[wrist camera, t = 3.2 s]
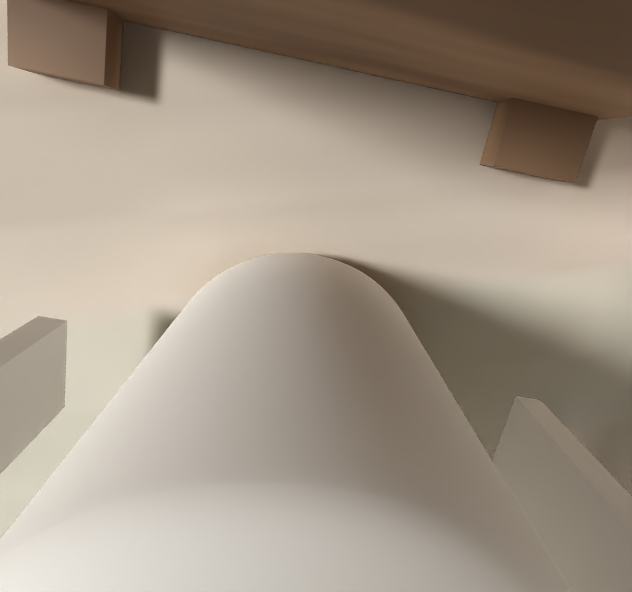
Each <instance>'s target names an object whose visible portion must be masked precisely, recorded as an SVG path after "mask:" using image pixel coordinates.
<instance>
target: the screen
mask: <svg viewBox="0 0 632 592" xmlns="http://www.w3.org/2000/svg"><path fill="white" fill-rule="evenodd" d="M7 14H8V65H9V66H13V67H16V68H19V69H23V70H26V71H30V72H34V73H39V74H44V75H48V76H53V77H58V78H63V79H68V80H73V81H77V82H82V83H87V84H92V85H97V86H102V87H107V88H111V89H116V90H119V84H120V66H121V48H122V31H123V20H124V21H128V22H133V23H138V24H142V25H147V26H151V27H156V28H161V29H165V30H170V31H174V32H179V33H184V34H188V35H193V36H197V37H202V38H206V39H211V40H216V41H220V42H225V43H229V44H234V45H239V46H243V47H248V48H252V49H257V50H262V51H266V52H271V53H275V54H280V55H284V56H289V57H294V58H298V59H303V60H307V61H312V62H317V63H321V64H326V65H330V66H335V67H340V68H344V69H349V70H353V71H358V72H363V73H367V74H372V75H376V76H381V77H385V78H390V79H395V80H399V81H404V82H408V83H413V84H418V85H422V86H427V87H431V88H436V89H441V90H445V91H450V92H454V93H459V94H463V95H468V96H473V97H477V98H482V99H486V100H491V101H496V102H498V105H497V108H496V111H495V115H494V118H493V122H492V125H491V129H490V132H489V136H488V139H487V142H486V146H485V149H484V153H483V156H482V160H481V163H480V165H485V166H490V167H495V168H499V169H504V170H509V171H514V172H519V173H524V174H529V175H533V176H538V177H543V178H548V179H553V180H559V181H568V182H575V180H576V177H577V174H578V172H579V169H580V166H581V163H582V160H583V157H584V155H585V152H586V149H587V146H588V143H589V140H590V138H591V135H592V132H593V129H594V126H595V124H596V121H597V120H602V119H611V118H620V117H628V116H632V0H7Z"/></svg>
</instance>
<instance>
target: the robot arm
mask: <svg viewBox="0 0 632 592" xmlns="http://www.w3.org/2000/svg"><path fill="white" fill-rule="evenodd" d="M66 340H67V321H65V320H59V319H53V318H47V317H41V316H38V317H36V318H35V319H33V320H31V321H30V322H28V323H26V324H25V325H23V326H22V327H20V328H18V329H17V330H15V331H13V332H12V333H10V334H8V335H7V336H5V337H3V338H2V339H0V474H1V473H2V472H3V471H4V470H5V469H6V468H7V466H8V465H9V464H10V463H11V462H12V461H13V460H14V459H15V458H16V457H17V456H18V455H19V454H20V453H21V452H22V451H23V450H24V449H25V448H26V447H27V446H28V445H29V443H30V442H31V441H32V440H33V439H34V438H35V437H36V436H37V435H38V434H39V433H40V432H41V431H42V430H43V429H44V428H45V427H46V426H47V425H48V424H49V423H50V422H51V420H52V419H53V418H54V417H55V416H56V415H57V414H58V413H59V412H60V411H61V410H62V409H63V408H64V407H65V373H66ZM492 462H493V463H494V465H495V467H496V468H497V470H498V472H499V473H500V475H501V477H502V478H503V480H504V482H505V483H506V485H507V487H508V488H509V490H510V492H511V493H512V495H513V497H514V498H515V500H516V502H517V503H518V505H519V507H520V508H521V510H522V512H523V513H524V515H525V517H526V518H527V520H528V521H529V523H530V525H531V526H532V528H533V530H534V531H535V533H536V535H537V536H538V538H539V540H540V541H541V543H542V545H543V546H544V548H545V550H546V551H547V553H548V555H549V556H550V558H551V560H552V561H553V563H554V565H555V566H556V568H557V570H558V571H559V573H560V575H561V576H562V578H563V580H564V581H565V583H566V585H567V586H568V588H569V590H570V591H571V592H632V496H631V495H630V494H629V493H628V492H627V491H626V490H625V489H624V488H623V487H622V486H621V485H620V483H619V482H618V481H617V480H616V479H615V478H614V477H613V476H612V475H611V474H610V473H609V472H608V471H607V470H606V469H605V468H604V467H603V466H602V464H601V463H600V462H599V461H598V460H597V459H596V458H595V457H594V456H593V455H592V454H591V453H590V452H589V451H588V450H587V449H586V448H585V447H584V445H583V444H582V443H581V442H580V441H579V440H578V439H577V438H576V437H575V436H574V435H573V434H572V433H571V432H570V431H569V430H568V429H567V428H566V426H565V425H564V424H563V423H562V422H561V421H560V420H559V419H558V418H557V417H556V416H555V415H554V414H553V413H552V412H551V411H550V410H549V409H548V407H547V406H546V405H545V404H544V403H543V402H542V401H541V400H539V399H533V398H527V397H521V396H516V397H515V400H514V402H513V405H512V408H511V411H510V413H509V416H508V419H507V422H506V424H505V427H504V430H503V433H502V435H501V438H500V441H499V443H498V446H497V449H496V452H495V454H494V457H493V460H492Z"/></svg>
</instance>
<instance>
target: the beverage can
mask: <svg viewBox="0 0 632 592" xmlns="http://www.w3.org/2000/svg"><path fill="white" fill-rule="evenodd" d="M0 592H571V591H570V590H569V588H568V586H567V585H566V583H565V581H564V580H563V578H562V576H561V575H560V573H559V571H558V570H557V568H556V566H555V565H554V563H553V561H552V560H551V558H550V556H549V555H548V553H547V551H546V550H545V548H544V546H543V545H542V543H541V541H540V540H539V538H538V536H537V535H536V533H535V531H534V530H533V528H532V526H531V525H530V523H529V521H528V520H527V518H526V517H525V515H524V513H523V512H522V510H521V508H520V507H519V505H518V503H517V502H516V500H515V498H514V497H513V495H512V493H511V492H510V490H509V488H508V487H507V485H506V483H505V482H504V480H503V478H502V477H501V475H500V473H499V472H498V470H497V468H496V467H495V465H494V463H493V462H492V460H491V458H490V457H489V455H488V453H487V452H486V450H485V448H484V447H483V445H482V443H481V442H480V440H479V438H478V437H477V435H476V434H475V432H474V430H473V429H472V427H471V425H470V424H469V422H468V420H467V419H466V417H465V415H464V414H463V412H462V410H461V409H460V407H459V405H458V404H457V402H456V400H455V399H454V397H453V395H452V394H451V392H450V390H449V389H448V387H447V385H446V384H445V382H444V380H443V379H442V377H441V375H440V374H439V372H438V370H437V369H436V367H435V365H434V364H433V362H432V360H431V359H430V357H429V356H428V354H427V352H426V351H425V349H424V347H423V346H422V344H421V342H420V341H419V339H418V337H417V336H416V334H415V332H414V331H413V329H412V327H411V326H410V324H409V322H408V321H407V319H406V317H405V316H404V314H403V313H402V311H401V309H400V308H399V306H398V305H397V304H396V302H395V301H394V300H393V299H392V297H391V296H390V295H389V294H388V293H387V292H386V291H385V290H384V289H383V288H382V287H381V286H380V285H379V284H378V283H376V282H375V281H374V280H373V279H371V278H370V277H369V276H367V275H366V274H364V273H362V272H361V271H359V270H357V269H355V268H353V267H351V266H349V265H347V264H345V263H342V262H340V261H337V260H334V259H331V258H327V257H323V256H319V255H313V254H305V253H279V254H271V255H265V256H260V257H256V258H253V259H250V260H247V261H244V262H241V263H239V264H237V265H234V266H232V267H230V268H228V269H227V270H225V271H223V272H222V273H220V274H218V275H217V276H215V277H214V278H213V279H211V280H210V281H209V282H208V283H206V284H205V285H204V286H203V287H202V288H201V289H200V290H199V291H198V292H197V293H196V294H195V295H194V296H193V297H192V299H191V300H190V301H189V302H188V304H187V305H186V306H185V307H184V309H183V310H182V311H181V312H180V314H179V315H178V316H177V317H176V319H175V320H174V321H173V322H172V324H171V325H170V326H169V327H168V329H167V330H166V331H165V332H164V334H163V335H162V336H161V338H160V339H159V340H158V341H157V343H156V344H155V345H154V346H153V348H152V349H151V350H150V351H149V353H148V354H147V355H146V356H145V358H144V359H143V360H142V361H141V363H140V364H139V365H138V366H137V368H136V369H135V370H134V372H133V373H132V374H131V375H130V377H129V378H128V379H127V380H126V382H125V383H124V384H123V385H122V387H121V388H120V389H119V390H118V392H117V393H116V394H115V395H114V397H113V398H112V399H111V400H110V402H109V403H108V404H107V406H106V407H105V408H104V409H103V411H102V412H101V413H100V414H99V416H98V417H97V418H96V419H95V421H94V422H93V423H92V424H91V426H90V427H89V428H88V429H87V431H86V432H85V433H84V434H83V436H82V437H81V438H80V440H79V441H78V442H77V443H76V445H75V446H74V447H73V448H72V450H71V451H70V452H69V453H68V455H67V456H66V457H65V458H64V460H63V461H62V462H61V463H60V465H59V466H58V467H57V468H56V470H55V471H54V472H53V474H52V475H51V476H50V477H49V479H48V480H47V481H46V482H45V484H44V485H43V486H42V487H41V489H40V490H39V491H38V492H37V494H36V495H35V496H34V497H33V499H32V500H31V501H30V502H29V504H28V505H27V506H26V508H25V509H24V510H23V511H22V513H21V514H20V515H19V516H18V518H17V519H16V520H15V521H14V523H13V524H12V525H11V526H10V528H9V529H8V530H7V531H6V533H5V534H4V535H3V536H2V538H1V539H0Z"/></svg>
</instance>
